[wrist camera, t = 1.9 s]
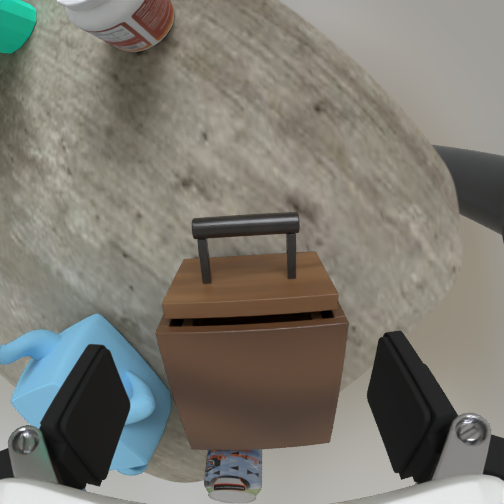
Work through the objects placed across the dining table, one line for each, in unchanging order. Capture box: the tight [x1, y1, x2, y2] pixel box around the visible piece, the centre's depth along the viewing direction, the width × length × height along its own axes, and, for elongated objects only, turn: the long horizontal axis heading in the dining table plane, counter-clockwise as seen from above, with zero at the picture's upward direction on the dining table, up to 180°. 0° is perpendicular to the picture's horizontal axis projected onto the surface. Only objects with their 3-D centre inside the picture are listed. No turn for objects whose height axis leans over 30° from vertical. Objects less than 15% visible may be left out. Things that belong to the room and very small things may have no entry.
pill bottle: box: [56, 0, 174, 52], centre depth 15 cm, size 6×6×11 cm
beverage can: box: [204, 449, 262, 503], centre depth 30 cm, size 6×7×12 cm
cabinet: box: [155, 302, 349, 450], centre depth 26 cm, size 14×13×10 cm
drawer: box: [162, 212, 338, 327], centre depth 25 cm, size 17×11×8 cm, turn 3°
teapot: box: [0, 314, 171, 476], centre depth 26 cm, size 18×16×14 cm
